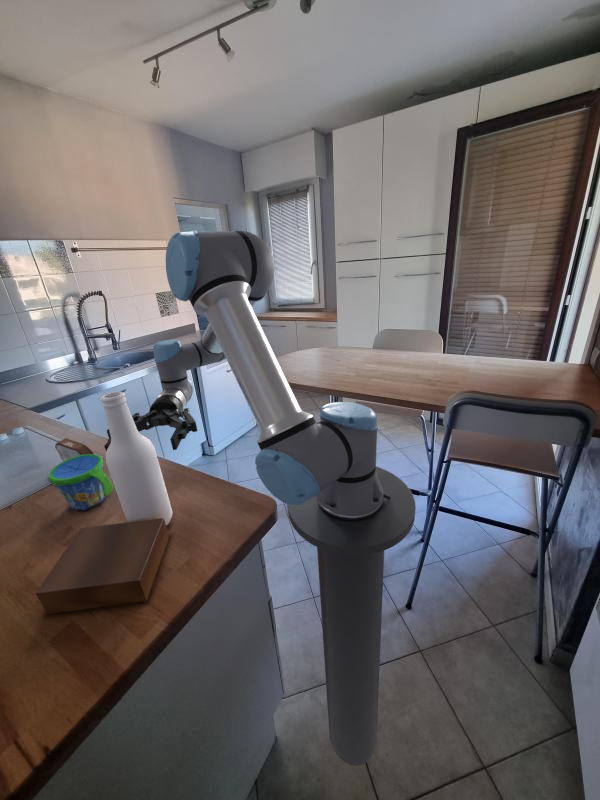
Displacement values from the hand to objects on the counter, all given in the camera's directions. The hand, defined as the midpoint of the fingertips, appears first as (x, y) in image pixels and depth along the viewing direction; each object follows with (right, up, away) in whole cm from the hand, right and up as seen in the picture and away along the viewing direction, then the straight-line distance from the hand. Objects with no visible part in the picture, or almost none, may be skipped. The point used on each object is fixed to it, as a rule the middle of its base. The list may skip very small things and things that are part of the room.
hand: (140, 447), depth 70 cm
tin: (-29, -9, +24) cm, 39 cm away
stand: (0, -21, -9) cm, 23 cm away
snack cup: (-17, -15, +10) cm, 25 cm away
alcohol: (+2, -17, +2) cm, 17 cm away
